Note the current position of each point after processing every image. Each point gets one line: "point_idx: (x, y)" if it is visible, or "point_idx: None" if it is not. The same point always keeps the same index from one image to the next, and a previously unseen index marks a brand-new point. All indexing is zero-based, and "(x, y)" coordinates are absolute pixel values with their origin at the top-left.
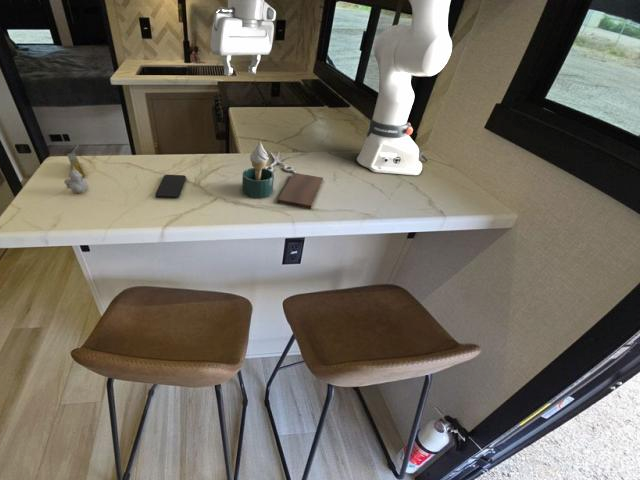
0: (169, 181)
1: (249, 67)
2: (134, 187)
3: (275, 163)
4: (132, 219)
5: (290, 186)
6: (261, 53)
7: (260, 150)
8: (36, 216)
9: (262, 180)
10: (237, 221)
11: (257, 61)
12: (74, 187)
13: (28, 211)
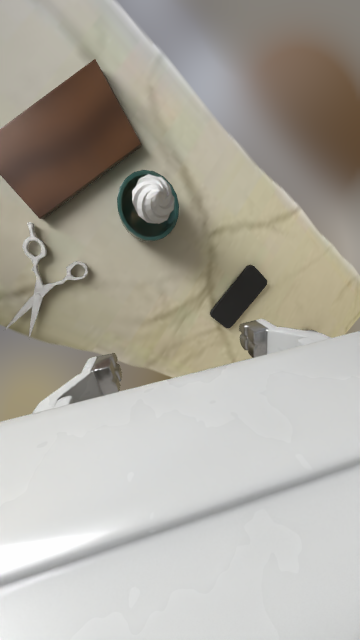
0: (235, 308)
1: (117, 382)
2: (265, 319)
3: (50, 283)
4: (306, 251)
5: (85, 169)
6: (24, 416)
7: (160, 186)
8: (347, 308)
9: (159, 176)
10: (229, 149)
11: (69, 390)
12: (317, 332)
13: (345, 320)
